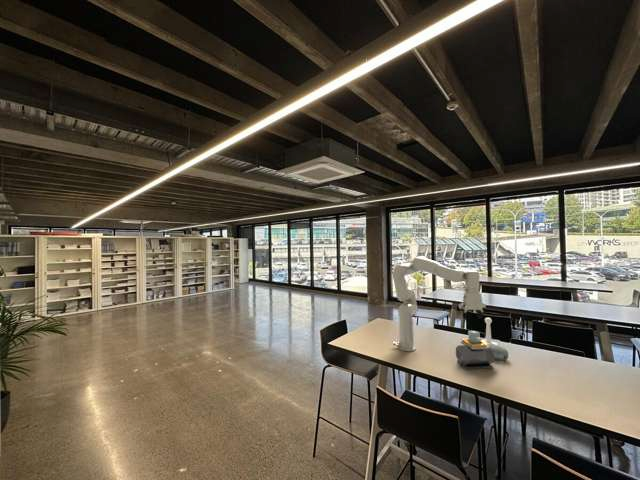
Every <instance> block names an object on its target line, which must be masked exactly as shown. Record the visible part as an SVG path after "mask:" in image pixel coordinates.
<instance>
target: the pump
mask: <svg viewBox="0 0 640 480" xmlns="http://www.w3.org/2000/svg"><path fill="white" fill-rule="evenodd" d="M467 332H468V333H467V337H468V338H467V339H468V341H469V342H470V343H471V344H480V341H482V340H483V338H482V337H480V336H481V335H480V332H479V331H477V330H468V331H467Z"/></svg>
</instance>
